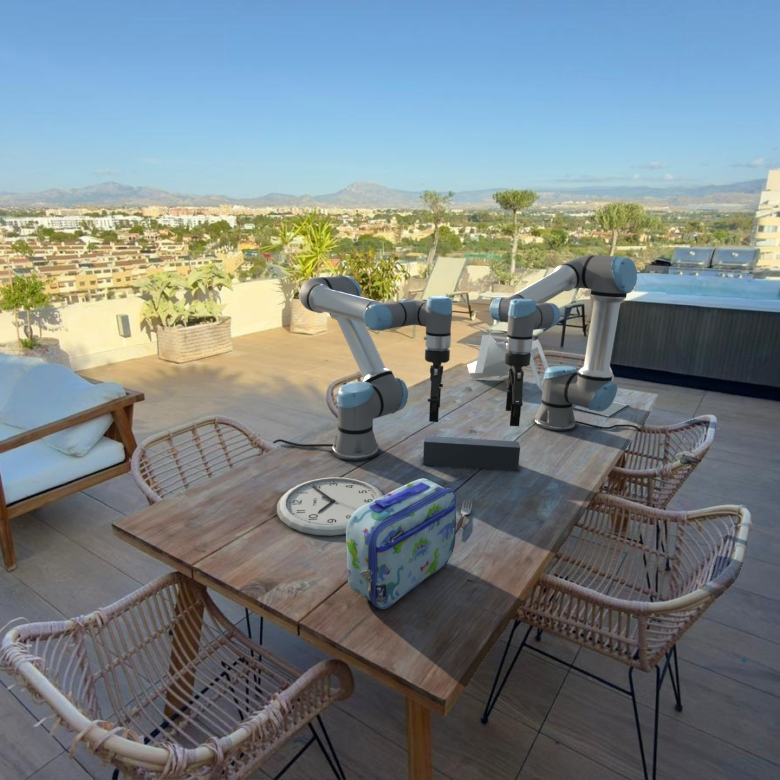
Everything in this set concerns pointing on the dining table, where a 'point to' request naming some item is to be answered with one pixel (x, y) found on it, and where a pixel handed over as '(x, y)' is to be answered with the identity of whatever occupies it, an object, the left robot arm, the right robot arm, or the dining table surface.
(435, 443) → the beam
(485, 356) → the white plastic object
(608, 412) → the invitation card
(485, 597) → the dining table surface
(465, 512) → the fork
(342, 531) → the wall clock
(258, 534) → the dining table surface
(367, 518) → the lunch box
